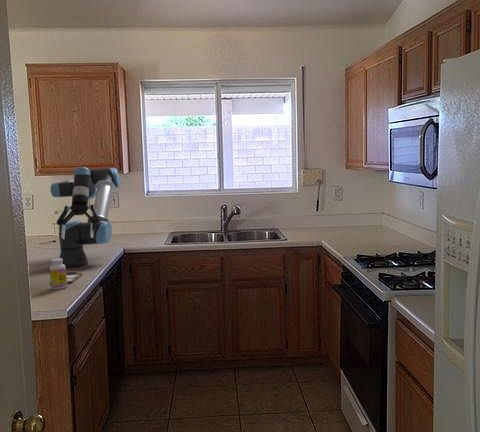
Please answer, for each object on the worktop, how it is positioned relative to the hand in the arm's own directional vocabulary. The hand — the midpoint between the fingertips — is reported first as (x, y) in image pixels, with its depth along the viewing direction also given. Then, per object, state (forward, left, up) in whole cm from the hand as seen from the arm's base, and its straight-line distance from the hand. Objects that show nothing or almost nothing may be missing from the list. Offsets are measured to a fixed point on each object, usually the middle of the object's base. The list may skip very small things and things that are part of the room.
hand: (77, 237), depth 245 cm
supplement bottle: (+19, -4, -19) cm, 27 cm away
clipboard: (+4, -5, -19) cm, 20 cm away
